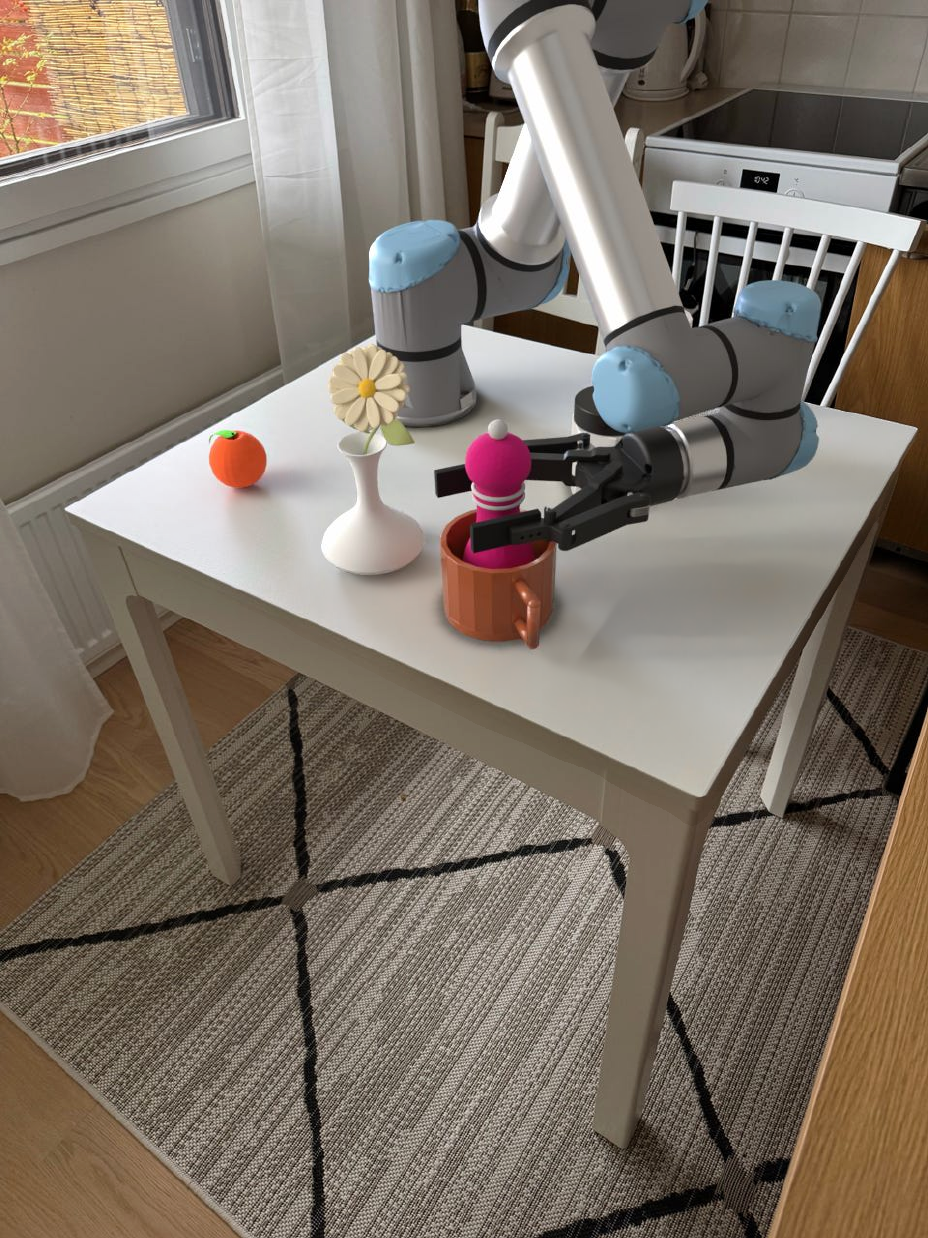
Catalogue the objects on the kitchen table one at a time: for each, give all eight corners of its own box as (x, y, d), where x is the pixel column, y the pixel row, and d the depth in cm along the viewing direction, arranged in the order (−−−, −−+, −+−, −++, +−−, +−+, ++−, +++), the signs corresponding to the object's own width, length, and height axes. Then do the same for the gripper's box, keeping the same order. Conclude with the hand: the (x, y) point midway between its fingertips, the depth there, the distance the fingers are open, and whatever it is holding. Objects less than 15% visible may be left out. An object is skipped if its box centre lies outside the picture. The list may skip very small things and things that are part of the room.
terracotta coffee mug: (429, 587, 96) (425, 520, 90) (527, 564, 98) (528, 497, 93) (479, 678, 85) (478, 607, 79) (588, 649, 88) (593, 578, 82)
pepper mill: (514, 629, 88) (516, 447, 76) (450, 608, 91) (441, 429, 79) (546, 589, 93) (552, 411, 81) (484, 570, 96) (481, 395, 83)
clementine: (196, 487, 113) (184, 436, 108) (234, 462, 117) (223, 412, 113) (246, 504, 110) (234, 451, 105) (282, 477, 114) (273, 426, 110)
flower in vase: (302, 557, 101) (264, 340, 85) (377, 514, 107) (354, 304, 91) (382, 605, 94) (358, 378, 78) (457, 556, 100) (449, 337, 84)
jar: (596, 517, 105) (604, 423, 97) (553, 487, 110) (557, 396, 103) (654, 493, 109) (665, 401, 101) (610, 465, 114) (617, 375, 106)
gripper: (722, 554, 84) (496, 611, 78) (613, 446, 100) (419, 487, 94) (735, 483, 79) (496, 539, 73) (618, 382, 95) (414, 422, 89)
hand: (453, 510), depth 84 cm, fingers open, 9 cm apart
